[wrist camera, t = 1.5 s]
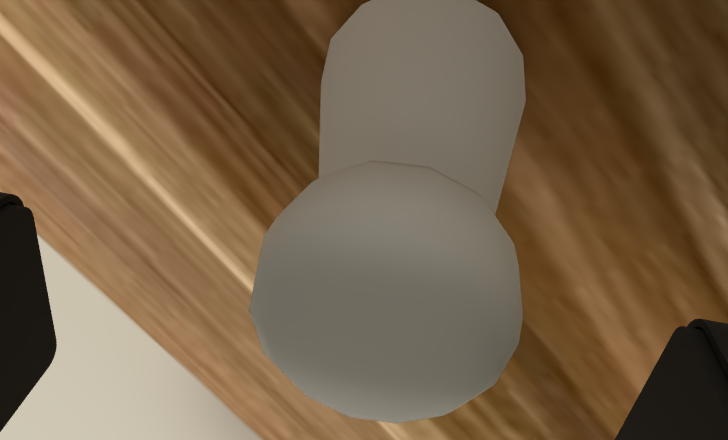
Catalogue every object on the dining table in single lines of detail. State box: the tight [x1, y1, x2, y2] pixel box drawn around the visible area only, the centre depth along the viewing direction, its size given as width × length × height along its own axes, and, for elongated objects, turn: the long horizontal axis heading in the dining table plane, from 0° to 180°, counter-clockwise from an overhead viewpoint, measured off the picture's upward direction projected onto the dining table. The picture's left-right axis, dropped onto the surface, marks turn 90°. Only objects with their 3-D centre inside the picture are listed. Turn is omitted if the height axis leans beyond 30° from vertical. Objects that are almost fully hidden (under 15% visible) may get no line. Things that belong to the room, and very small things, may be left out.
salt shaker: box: [249, 0, 526, 423], centre depth 14 cm, size 6×6×13 cm
